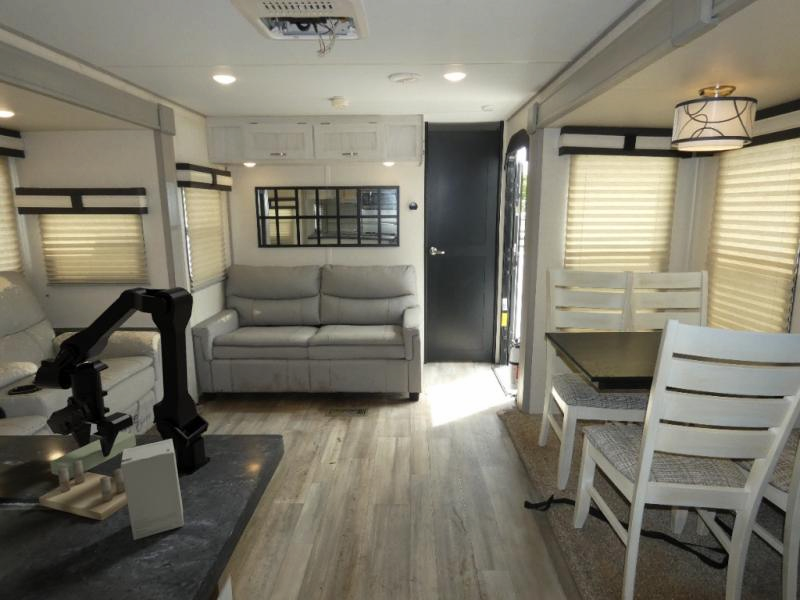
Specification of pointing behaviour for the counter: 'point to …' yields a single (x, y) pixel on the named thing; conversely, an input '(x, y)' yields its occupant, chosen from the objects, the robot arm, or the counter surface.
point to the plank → (92, 454)
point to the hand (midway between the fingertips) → (96, 454)
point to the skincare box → (152, 488)
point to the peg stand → (87, 493)
